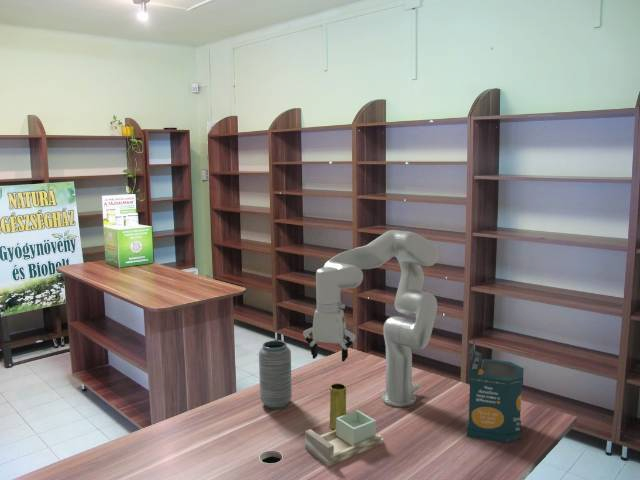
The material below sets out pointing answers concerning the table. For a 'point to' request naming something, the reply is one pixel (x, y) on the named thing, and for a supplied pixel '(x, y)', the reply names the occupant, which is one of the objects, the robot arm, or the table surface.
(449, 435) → the table surface
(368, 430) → the box
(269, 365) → the vase
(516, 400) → the donation box
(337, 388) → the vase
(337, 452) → the cream rectangular tray
